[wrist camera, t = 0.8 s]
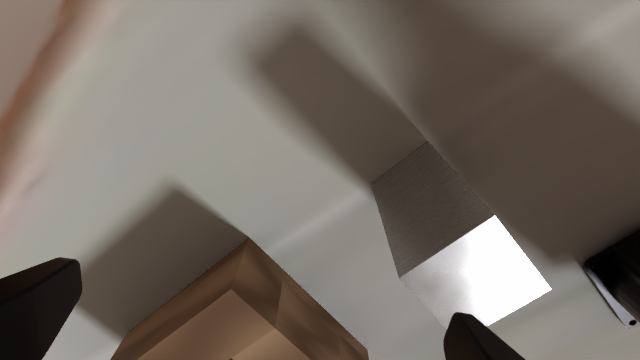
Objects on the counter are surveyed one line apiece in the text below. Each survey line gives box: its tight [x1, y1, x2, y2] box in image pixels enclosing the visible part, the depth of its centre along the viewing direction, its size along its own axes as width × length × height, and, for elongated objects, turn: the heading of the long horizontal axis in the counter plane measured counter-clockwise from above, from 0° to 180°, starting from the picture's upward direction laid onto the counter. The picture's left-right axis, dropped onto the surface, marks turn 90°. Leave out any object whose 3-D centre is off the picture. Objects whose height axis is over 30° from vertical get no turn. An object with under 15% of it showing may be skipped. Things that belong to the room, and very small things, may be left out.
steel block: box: [371, 141, 551, 329], centre depth 18 cm, size 4×4×9 cm
